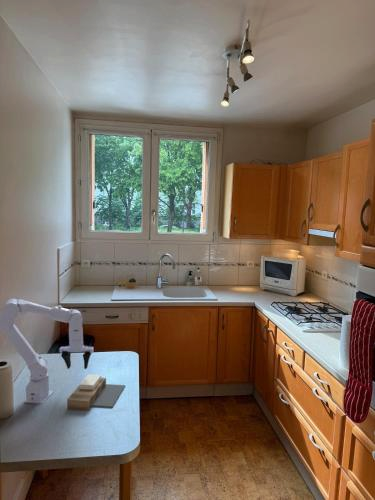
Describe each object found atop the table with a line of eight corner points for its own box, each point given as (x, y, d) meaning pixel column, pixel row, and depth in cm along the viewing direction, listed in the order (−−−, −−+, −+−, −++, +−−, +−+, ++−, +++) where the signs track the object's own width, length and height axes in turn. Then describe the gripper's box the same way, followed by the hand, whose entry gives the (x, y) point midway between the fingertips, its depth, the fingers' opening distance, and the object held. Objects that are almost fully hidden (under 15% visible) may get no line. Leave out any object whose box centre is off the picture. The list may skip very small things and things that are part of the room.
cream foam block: (93, 389, 143) (93, 385, 142) (79, 388, 143) (79, 384, 143) (101, 379, 152) (101, 375, 151) (88, 378, 152) (88, 374, 152)
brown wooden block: (89, 410, 135) (88, 401, 134) (67, 409, 136) (66, 399, 135) (106, 386, 153) (105, 378, 153) (86, 385, 154) (86, 376, 154)
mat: (112, 407, 137) (112, 406, 136) (92, 406, 138) (92, 405, 137) (125, 386, 153) (125, 385, 153) (106, 385, 154) (106, 384, 154)
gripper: (95, 334, 152) (96, 364, 154) (63, 334, 153) (65, 363, 155) (90, 340, 145) (91, 371, 147) (56, 340, 146) (58, 370, 148)
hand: (77, 367), depth 150 cm, fingers open, 7 cm apart
